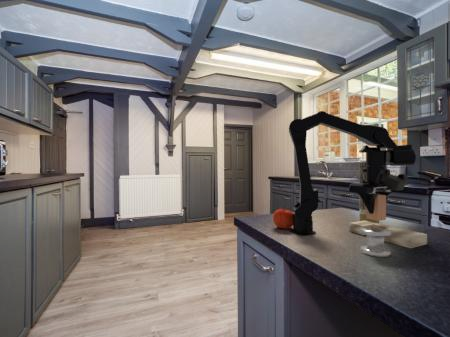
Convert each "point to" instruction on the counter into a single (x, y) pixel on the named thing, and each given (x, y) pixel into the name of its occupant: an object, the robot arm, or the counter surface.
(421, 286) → the counter surface
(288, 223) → the apple
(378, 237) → the bobbin
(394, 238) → the notched board
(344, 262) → the counter surface
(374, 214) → the tab block
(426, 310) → the counter surface
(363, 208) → the paper tube
